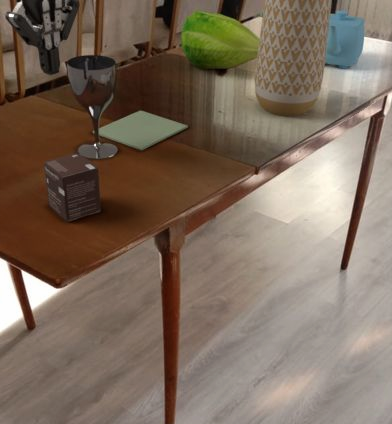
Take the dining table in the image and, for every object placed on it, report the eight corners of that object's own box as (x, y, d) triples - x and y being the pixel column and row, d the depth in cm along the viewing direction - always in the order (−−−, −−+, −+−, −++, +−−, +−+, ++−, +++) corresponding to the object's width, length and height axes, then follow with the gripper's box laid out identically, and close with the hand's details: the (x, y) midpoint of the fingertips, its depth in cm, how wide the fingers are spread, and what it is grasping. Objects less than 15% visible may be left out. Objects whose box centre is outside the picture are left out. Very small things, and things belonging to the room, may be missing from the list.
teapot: (299, 70, 150) (307, 18, 143) (316, 50, 163) (323, 1, 156) (350, 78, 147) (361, 25, 140) (363, 57, 160) (373, 7, 153)
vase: (323, 120, 127) (353, -58, 107) (256, 119, 126) (274, -61, 106) (310, 96, 137) (336, -71, 117) (248, 95, 136) (263, -73, 116)
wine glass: (66, 148, 113) (57, 60, 103) (103, 137, 117) (97, 52, 107) (92, 163, 108) (84, 73, 98) (129, 152, 112) (125, 64, 103)
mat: (141, 150, 113) (141, 148, 113) (92, 133, 118) (92, 131, 118) (187, 127, 122) (187, 125, 122) (140, 112, 127) (140, 110, 127)
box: (48, 206, 97) (41, 161, 92) (82, 196, 100) (78, 151, 95) (67, 223, 93) (61, 177, 88) (102, 211, 96) (98, 166, 91)
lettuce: (250, 85, 141) (255, 28, 133) (169, 71, 147) (170, 15, 139) (269, 68, 151) (275, 13, 143) (193, 55, 156) (195, 2, 148)
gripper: (51, -68, 91) (64, 57, 103) (-22, -57, 83) (1, 78, 94) (89, -61, 88) (98, 68, 99) (17, -49, 80) (36, 90, 91)
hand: (51, 72), depth 97 cm, fingers closed
